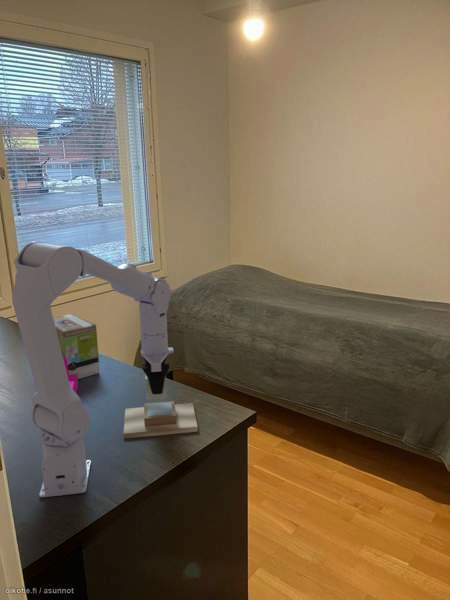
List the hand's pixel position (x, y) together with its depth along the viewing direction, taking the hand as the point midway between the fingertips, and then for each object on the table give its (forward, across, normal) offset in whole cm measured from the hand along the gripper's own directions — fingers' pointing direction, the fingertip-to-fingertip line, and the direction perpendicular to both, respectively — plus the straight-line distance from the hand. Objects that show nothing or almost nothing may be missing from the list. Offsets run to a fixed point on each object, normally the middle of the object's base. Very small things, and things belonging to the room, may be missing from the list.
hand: (156, 388), depth 105 cm
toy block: (+9, +20, +24) cm, 32 cm away
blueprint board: (+8, 0, 0) cm, 8 cm away
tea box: (+9, +34, +23) cm, 42 cm away
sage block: (+2, 0, 0) cm, 2 cm away
